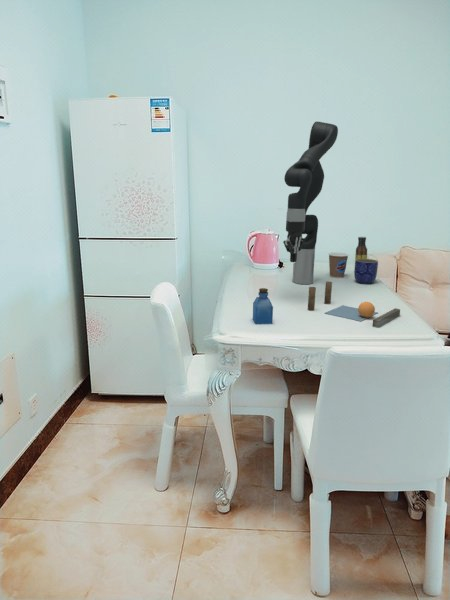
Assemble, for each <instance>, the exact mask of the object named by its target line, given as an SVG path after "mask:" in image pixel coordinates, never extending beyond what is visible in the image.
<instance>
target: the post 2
mask: <svg viewBox="0 0 450 600" xmlns="http://www.w3.org/2000/svg"><path fill="white" fill-rule="evenodd" d="M324 288H325V289H324V301H323V303H324V304H326V305H331V303H332V302H331V301H332V290H333V281H325V287H324Z"/></svg>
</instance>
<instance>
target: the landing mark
mask: <svg viewBox="0 0 450 600" xmlns="http://www.w3.org/2000/svg"><path fill="white" fill-rule="evenodd" d="M324 314H325V315H330V316H334V317H338V318H342V319H346V320H347V319H348V320H353V321H356V322H360V323H361V322H363V321H365V320H367V319H369V318H370V317H368V318H365V317H362V316H361V315H360V314H359V312H358V307H353V306H348V305H344V304H343V305H340V306H338V307H335V308H333V309H331V310H328V311H325V312H324ZM377 314H379V312H377V311H375V312H374V314H373V315H372V316H371V317H373V316H375V315H377Z"/></svg>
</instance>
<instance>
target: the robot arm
mask: <svg viewBox="0 0 450 600" xmlns="http://www.w3.org/2000/svg"><path fill="white" fill-rule="evenodd" d="M338 133H339V129H338V125H336V124H333V123H329V122H324V121H323V122H322V121H314V123H313V124H312V125H311V129H310V133H309V139H308V148H307V149H306V150H305V151H304V152H303V153H302V155H301V157H300V158H299V159H298V161H296V162H294V164H292V165H291V166H290V167H288V169H287V170H286V172H285V174H284V179H283V180H284V183H285V184H286V185H287V186H288V187H291V188H293V187H294V188H295V187H296V188H299V189H298V191H297V192H292V193H290V194H288V198H287V211H286V216H285V217H286V221H285V231H286V232H287V236H286V240H283V241H282V243H283V244H284V247H285V249H286V252H287V253H289V255H290V256H289V257H290V259H289V261H290V263H293V265H292V266H293V267H292V283H294V284H297V285H298V284H299V285H312V284H313V283H314V272H315V271H314V270H315V258H316V256H315V255H316V245H317V239H318V237H317V236H318V229H319V219H318V217H317V215H315V214H307V212H308V209H309V207H310V206H311V205H312V203H313V202H314V201H315V200H316V198H318V196H320V193H321V191H322V189H323V184H324V180H325V172H324V169H323V167H322V163H321V161H320V160H321V159H322V158H323V157H324V155H325V154H327V153H328V151H329V150H330V149H332V147H333V146H334V145H335V143H336V141H337V138H338ZM303 235H306V236H304V238H303Z"/></svg>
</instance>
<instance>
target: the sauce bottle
mask: <svg viewBox="0 0 450 600" xmlns="http://www.w3.org/2000/svg"><path fill="white" fill-rule="evenodd" d="M357 240H358V243H357V246H356V248H355V254H354V255H355V257H354V261H355V260H356V259H368V248H367V245H366V241H367V237H366V236H358V237H357Z"/></svg>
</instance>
